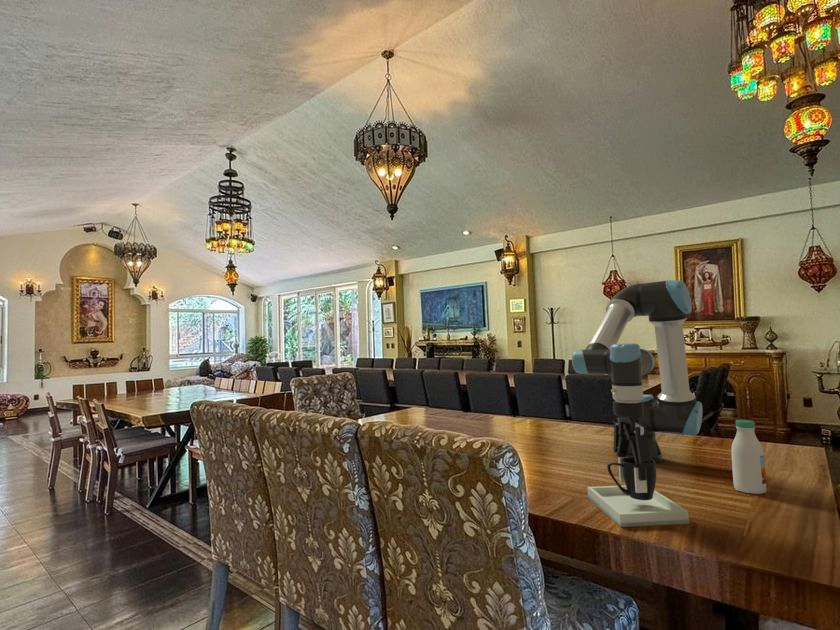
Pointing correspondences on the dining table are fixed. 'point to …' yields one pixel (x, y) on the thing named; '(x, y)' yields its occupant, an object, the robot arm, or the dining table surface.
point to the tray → (637, 508)
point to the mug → (630, 478)
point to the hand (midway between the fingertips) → (632, 486)
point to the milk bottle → (748, 460)
